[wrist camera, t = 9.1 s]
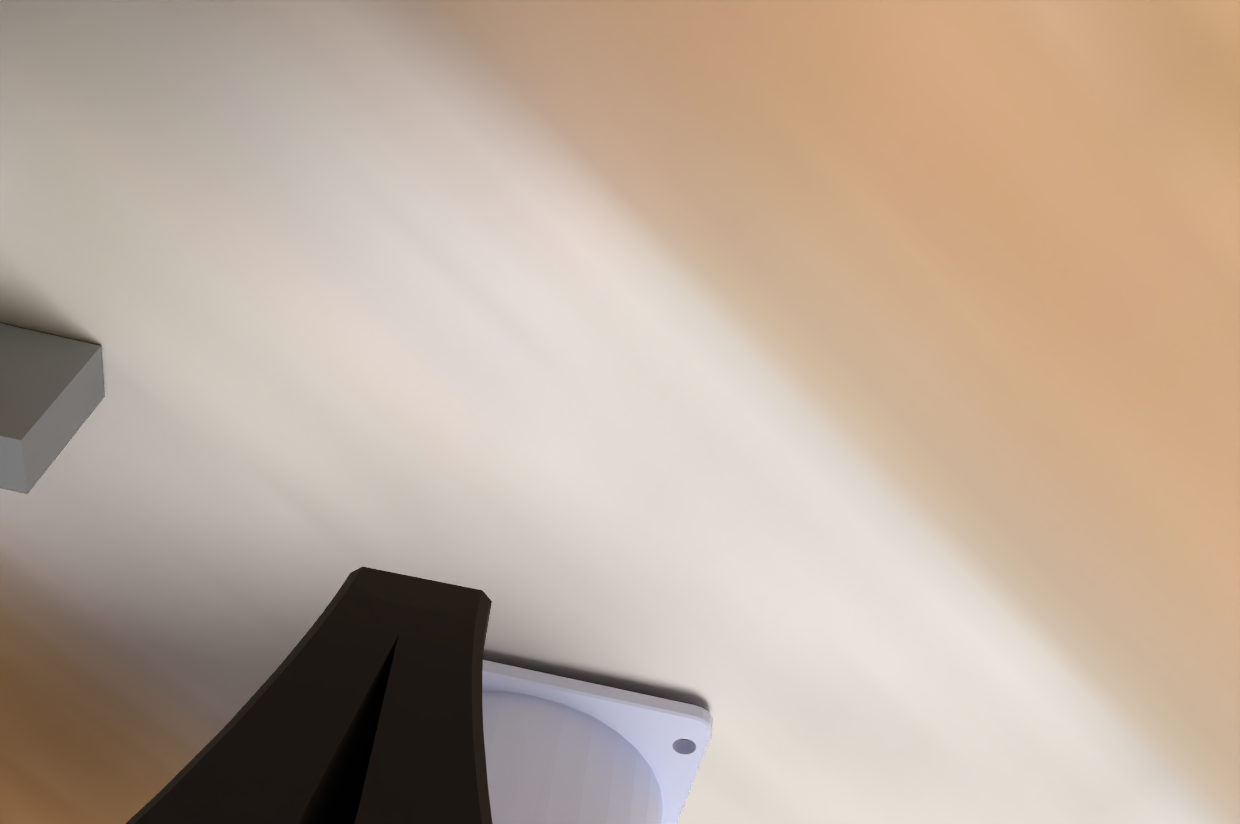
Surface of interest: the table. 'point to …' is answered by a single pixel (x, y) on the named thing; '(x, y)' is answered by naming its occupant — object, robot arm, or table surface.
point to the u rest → (42, 400)
